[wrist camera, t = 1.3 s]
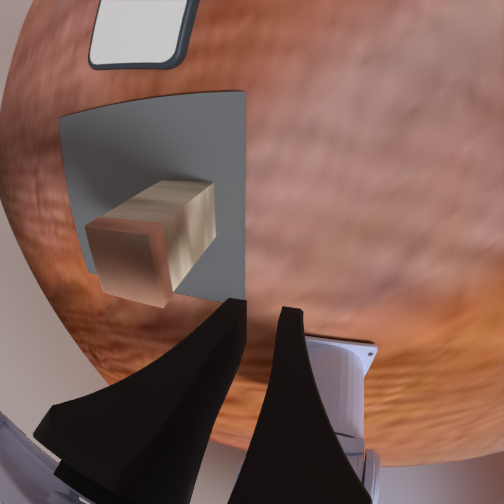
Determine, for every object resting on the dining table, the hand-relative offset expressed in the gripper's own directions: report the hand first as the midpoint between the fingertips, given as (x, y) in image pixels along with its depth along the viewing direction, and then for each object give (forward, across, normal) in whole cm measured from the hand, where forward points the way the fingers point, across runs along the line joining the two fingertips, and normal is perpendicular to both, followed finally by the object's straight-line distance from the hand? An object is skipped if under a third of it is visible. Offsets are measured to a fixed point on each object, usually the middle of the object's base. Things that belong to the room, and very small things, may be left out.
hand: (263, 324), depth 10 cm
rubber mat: (+10, +12, 0) cm, 16 cm away
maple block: (+10, +7, 0) cm, 12 cm away
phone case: (+11, +10, -18) cm, 24 cm away
